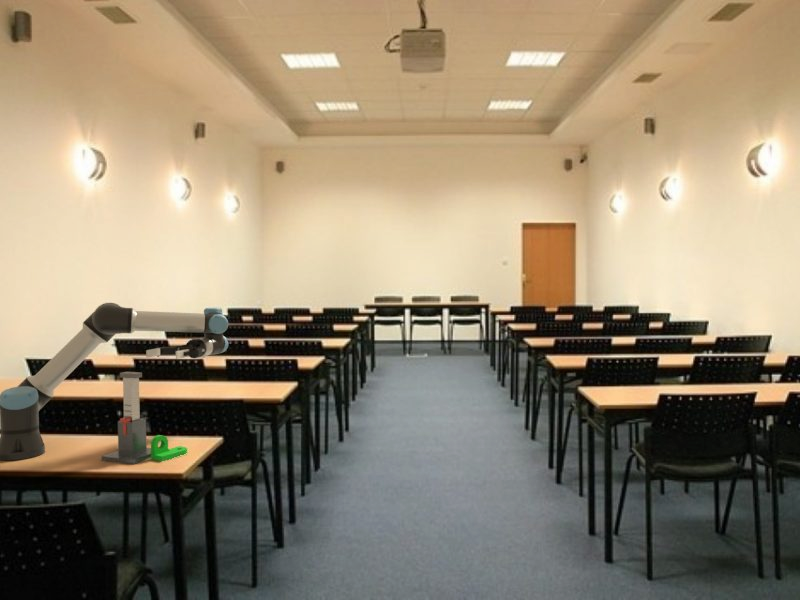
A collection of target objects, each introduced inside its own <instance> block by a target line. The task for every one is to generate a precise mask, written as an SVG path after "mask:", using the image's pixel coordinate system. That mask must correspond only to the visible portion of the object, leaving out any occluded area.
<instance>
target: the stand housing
mask: <svg viewBox="0 0 800 600" xmlns="http://www.w3.org/2000/svg"><path fill="white" fill-rule="evenodd" d="M117 442H118V443H117V445H118V446H117V449H118V450H115V451H113V452H110V453H107V454H104V455H100V456H101V459H100V460H101V461H103V462H110V463H111V462H112V463H120V464H127V465H128V464H129V465H136V464H138V463H140V462H141V463H142V462H144V461H146V460H149V459H151V447H147V418H141V417H140V420H137V421H133V422H131V418H124V417H122V418H120V419H119V420H118V421H117Z"/></svg>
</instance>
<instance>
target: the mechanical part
mask: <svg viewBox="0 0 800 600" xmlns="http://www.w3.org/2000/svg"><path fill="white" fill-rule="evenodd" d="M159 443H160V445H159ZM150 448H151V458H150V459H151V460H152V459H153V461H157V460H158V462H161V461H164V462H166V461H165V460H167V461H170V460H173V459H172V458H174V457H177V456H180V455H184V454H186V453H187V454H188V447H185V446H181V445H179V446H175V447H172V448H169V439H168V438H167V436H165V435H160V434H157V435H155V436H154V437H153V438H152V439H151V442H150ZM187 454H186V455H187ZM184 456H185V455H184ZM180 457H181V456H180ZM177 458H178V457H177ZM169 459H170V460H169ZM174 459H175V458H174Z"/></svg>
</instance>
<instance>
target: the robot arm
mask: <svg viewBox="0 0 800 600" xmlns="http://www.w3.org/2000/svg"><path fill="white" fill-rule="evenodd" d="M228 327H229V320H228V318H227V317H226V316H225V315H224V314H223V309H222V308H221V307H206V308H204V310H203V313H197V312H196V313H195V312H174V311H171V312H170V311H167V312H166V311H147V310H146V311H145V310H136V309H134V308H133V307H125V306H120V304H117V303H115V302H103V303H102V304H100V305H98V307H96V308H95V310H94V311H93V312H92V313H91V314H90V315H88V317H87V318H86V319H85V320H84V321H83V322H82V329H80V331H79V332H77V334H75V335H74V336H73V338H72V339H70V341H69V342H66V345H64V346H63V347H62V348H61V349H60V350H59V351H58V352H57V353H56V354H55V355H54V356H53V357H52V358H51V359H50V360H49V361H48V362H46V364H45V365H44V366H43V367H42V368H41V369H39V371H38V372H37V373H36V374H35V375H28V376H27V377H25V379H24V380H22V381H21V383H19V384H18V385H17V386H13V387H10V388H6V389H4V390H3V391H1V392H0V461H18V460H19V459H20V460H25V459H30V457H31V458H35V457H38V456H41V455H43V454H44V453H45V452H46V445H45V442H44V440H43V437H42V435H41V432H40V427H39V426H40V420H39V418H40V417H39V411H40V410H41V409H43V408H44V406H46V404H47V403H48V402H50V400H51V399H52V398H53V397H54V393H55V389H56V388H57V387H58V386H60V384H62V382H63V381H64V380H65V379H66V378H67V377H69V375H70V374H72V373H73V372H74V370H75V369H76V368H78V366H79V365H81V364H82V362H83V361H84V360H86V359H87V358H88V356H89V355H90V354H92V353H93V351H95V350H96V348H98V347H99V345H100V344H102V343H103V344H105V343H108V342H109V341H110V340H111V339H112V338H113V337H114V336H115V335H119V334H120V335H121V334H134V332H164V333H165V332H167V333H171V332H172V333H176V332H177V333H203V335H204V337H200V338H195V339H194V338H193V339H190V340H188V341H187V342H186V344H182V345H174V346H163V347H154V348H151V349H147V350H145V352H146V355H145V357H146V358H153V357H157V358H158V357H160V356H162V355H175V359H182V358H183V359H184V358H188V357H189V358H191V359H199V358H206V357H207V356H213V355H219V354H222V353H224V352H227V349H228V348H229V341H228V338H227V337H226V336H224V333H225V332H226V331H227V330H228ZM20 460H19V461H20Z"/></svg>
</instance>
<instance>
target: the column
mask: <svg viewBox="0 0 800 600" xmlns="http://www.w3.org/2000/svg"><path fill="white" fill-rule="evenodd" d="M119 378H120V379H121V378H122V387H123V388H122V390H123V391H122V392H123V418H131V422H133V421H137V420H140V418H141V417H140V416H141V415H140V413H141V412H140V409H141V408H140V407H141V406H140V378H143V373H142V372H138V371H137V372H136V371H124V372H120V373H119Z"/></svg>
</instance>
